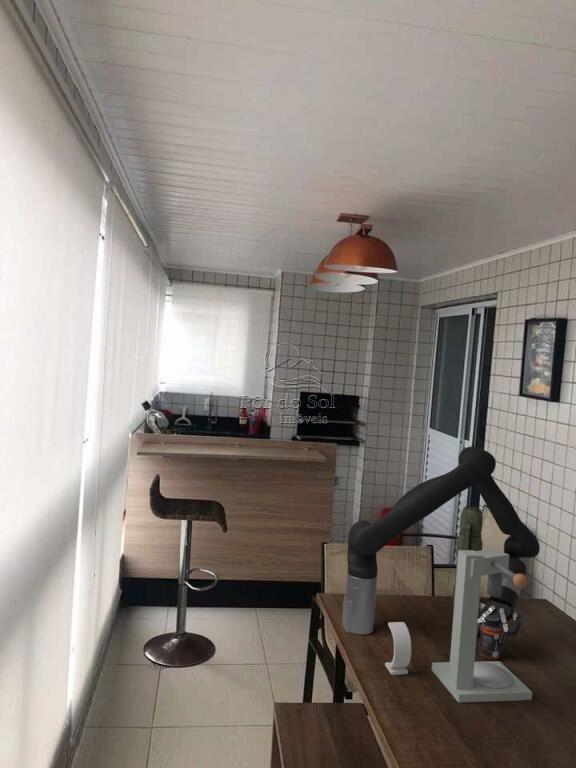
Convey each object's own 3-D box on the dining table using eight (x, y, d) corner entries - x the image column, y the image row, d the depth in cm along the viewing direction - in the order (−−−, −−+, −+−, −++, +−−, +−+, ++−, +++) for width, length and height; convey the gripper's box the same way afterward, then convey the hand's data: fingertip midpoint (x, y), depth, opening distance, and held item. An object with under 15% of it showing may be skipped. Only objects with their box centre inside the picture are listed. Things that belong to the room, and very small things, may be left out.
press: (477, 725, 138) (489, 572, 138) (431, 669, 164) (441, 539, 163) (555, 722, 142) (567, 572, 141) (498, 668, 167) (508, 540, 166)
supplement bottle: (501, 662, 171) (504, 623, 170) (479, 659, 172) (482, 620, 172) (498, 653, 177) (501, 615, 176) (477, 649, 178) (480, 612, 178)
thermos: (450, 608, 209) (457, 509, 208) (453, 597, 220) (461, 502, 219) (476, 613, 206) (484, 512, 205) (478, 602, 216) (486, 506, 216)
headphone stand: (400, 664, 165) (403, 622, 165) (409, 676, 159) (412, 631, 159) (384, 665, 164) (388, 622, 164) (393, 676, 158) (396, 632, 158)
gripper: (480, 577, 184) (461, 626, 175) (528, 591, 175) (510, 643, 166) (485, 590, 188) (467, 639, 180) (532, 604, 179) (515, 656, 170)
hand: (488, 641), depth 173 cm, fingers open, 6 cm apart
